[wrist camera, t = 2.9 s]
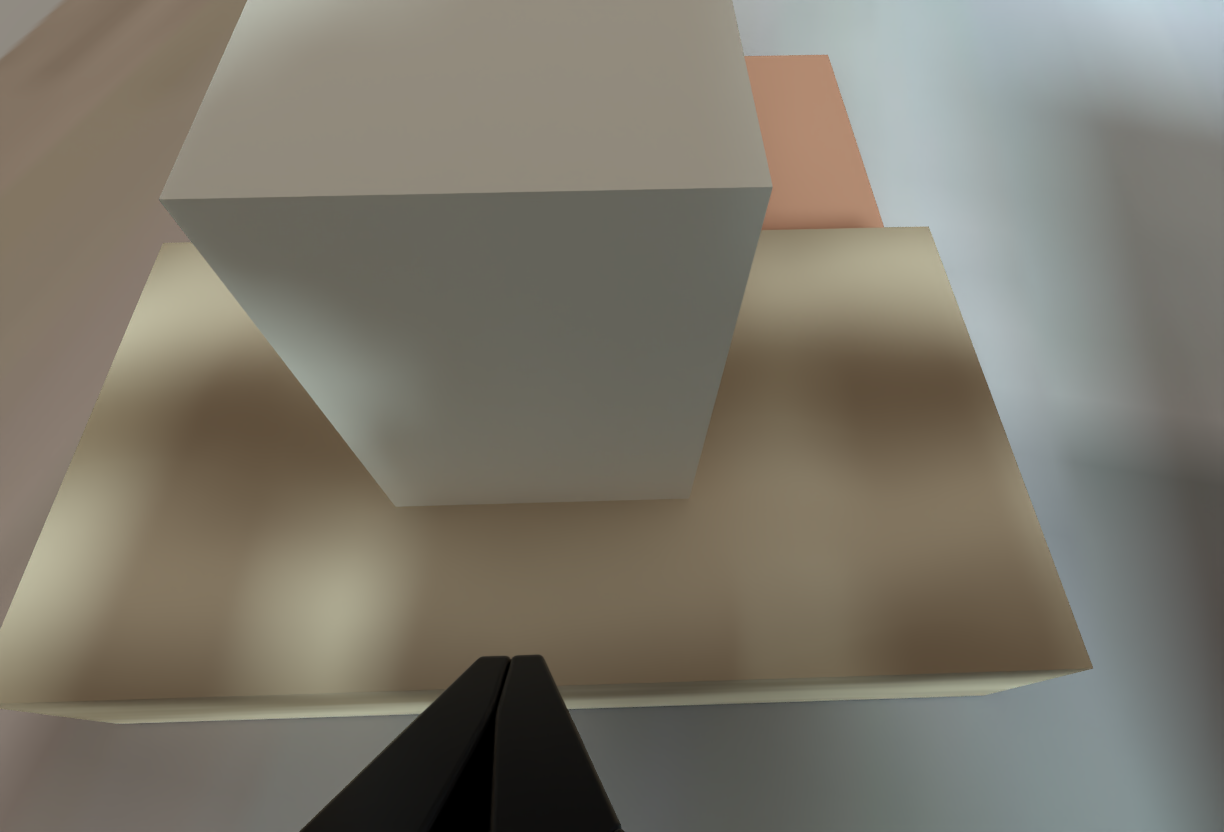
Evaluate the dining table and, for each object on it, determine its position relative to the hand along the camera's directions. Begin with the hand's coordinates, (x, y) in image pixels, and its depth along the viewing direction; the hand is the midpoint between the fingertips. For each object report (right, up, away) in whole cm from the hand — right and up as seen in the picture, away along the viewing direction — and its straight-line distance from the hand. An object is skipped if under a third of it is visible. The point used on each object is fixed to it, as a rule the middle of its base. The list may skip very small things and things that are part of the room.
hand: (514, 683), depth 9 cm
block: (0, +5, +6) cm, 8 cm away
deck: (0, +2, +9) cm, 9 cm away
